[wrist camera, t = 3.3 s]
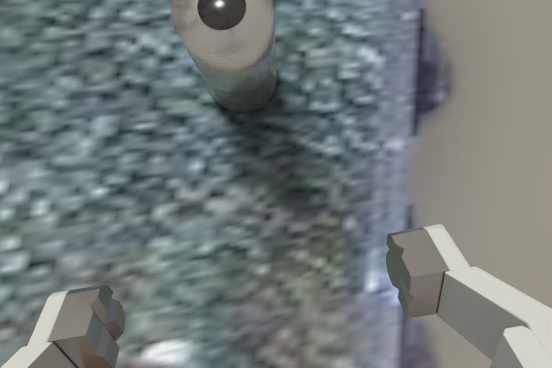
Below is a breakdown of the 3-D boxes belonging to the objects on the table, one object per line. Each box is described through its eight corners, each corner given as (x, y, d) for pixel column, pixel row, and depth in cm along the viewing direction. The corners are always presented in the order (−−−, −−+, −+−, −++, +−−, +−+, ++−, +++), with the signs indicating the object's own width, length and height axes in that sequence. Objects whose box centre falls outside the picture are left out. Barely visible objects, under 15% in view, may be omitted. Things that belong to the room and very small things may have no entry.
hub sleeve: (213, 117, 28) (178, 62, 19) (203, 52, 29) (164, -32, 20) (282, 105, 28) (280, 44, 19) (270, 40, 29) (263, -49, 20)
